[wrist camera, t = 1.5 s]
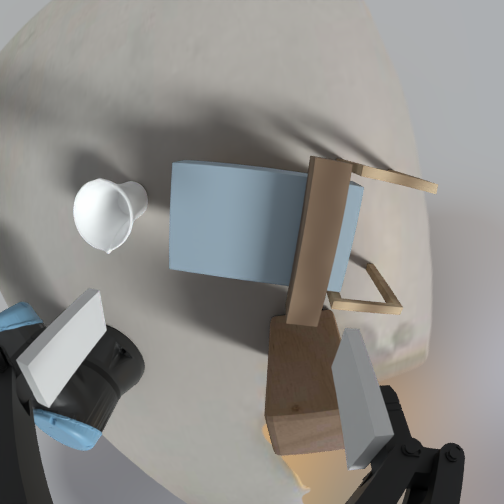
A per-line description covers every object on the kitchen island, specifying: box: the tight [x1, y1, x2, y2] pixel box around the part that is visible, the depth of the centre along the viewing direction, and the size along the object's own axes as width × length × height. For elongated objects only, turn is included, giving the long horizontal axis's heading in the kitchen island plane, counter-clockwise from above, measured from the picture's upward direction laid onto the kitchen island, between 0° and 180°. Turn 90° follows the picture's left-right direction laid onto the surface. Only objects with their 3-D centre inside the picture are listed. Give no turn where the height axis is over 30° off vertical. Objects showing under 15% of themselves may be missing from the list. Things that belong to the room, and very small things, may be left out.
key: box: [285, 156, 353, 327], centre depth 25 cm, size 3×15×4 cm, turn 174°
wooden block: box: [264, 310, 345, 456], centre depth 37 cm, size 10×10×20 cm
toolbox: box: [327, 158, 438, 315], centre depth 33 cm, size 26×15×12 cm, turn 84°
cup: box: [73, 178, 148, 254], centre depth 35 cm, size 9×9×10 cm
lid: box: [169, 160, 364, 292], centre depth 29 cm, size 18×11×4 cm, turn 84°
